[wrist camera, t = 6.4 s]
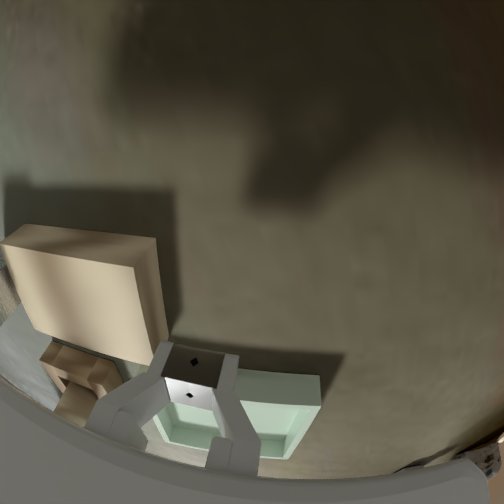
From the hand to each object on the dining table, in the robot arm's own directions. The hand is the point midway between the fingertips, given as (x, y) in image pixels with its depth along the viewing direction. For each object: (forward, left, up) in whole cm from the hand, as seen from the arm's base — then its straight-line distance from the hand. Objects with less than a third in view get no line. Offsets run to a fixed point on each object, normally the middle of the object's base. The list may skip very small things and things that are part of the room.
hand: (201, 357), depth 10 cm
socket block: (+12, +13, -5) cm, 19 cm away
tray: (-1, +13, -5) cm, 14 cm away
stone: (-51, +38, -5) cm, 64 cm away
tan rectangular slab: (+8, +1, -5) cm, 10 cm away
